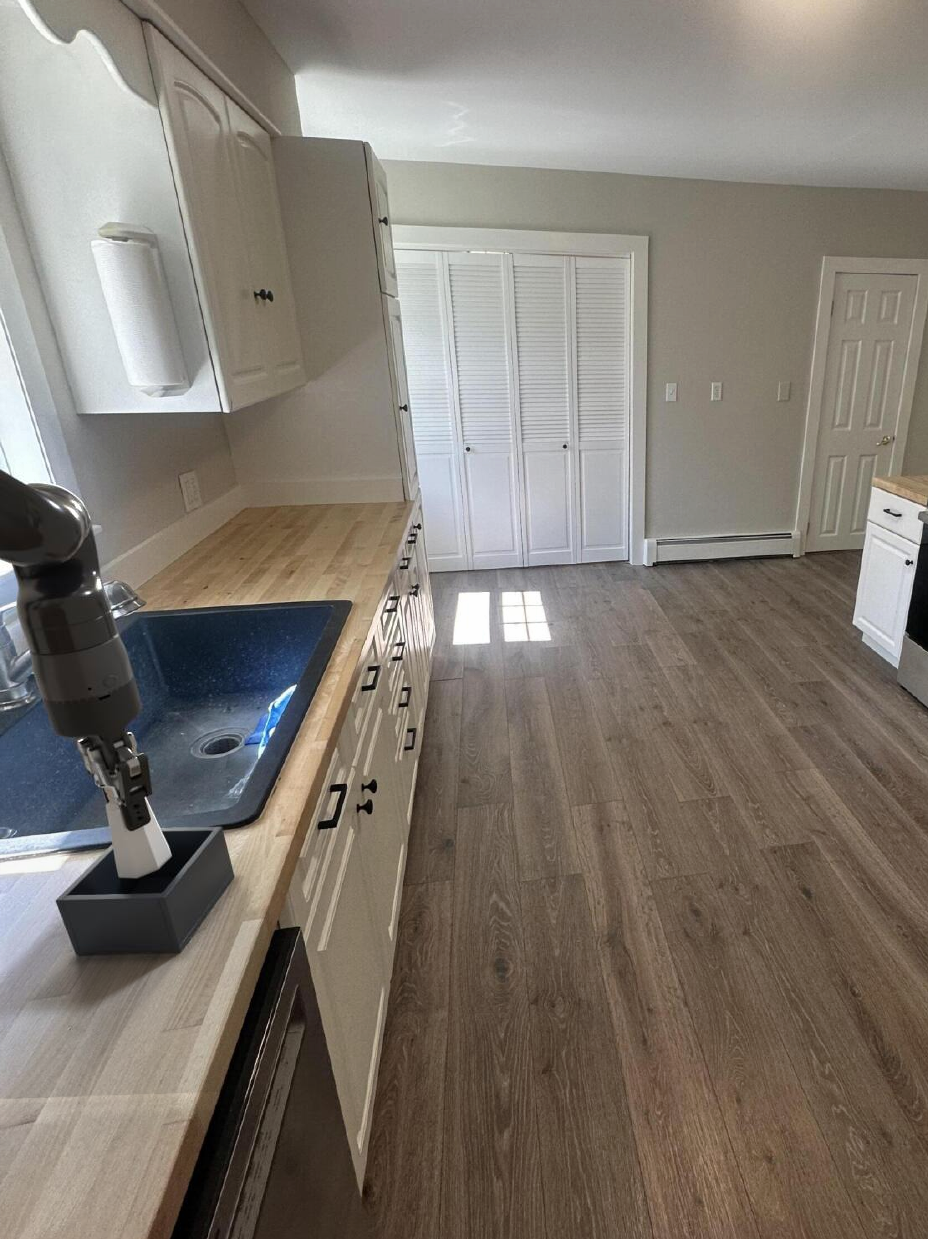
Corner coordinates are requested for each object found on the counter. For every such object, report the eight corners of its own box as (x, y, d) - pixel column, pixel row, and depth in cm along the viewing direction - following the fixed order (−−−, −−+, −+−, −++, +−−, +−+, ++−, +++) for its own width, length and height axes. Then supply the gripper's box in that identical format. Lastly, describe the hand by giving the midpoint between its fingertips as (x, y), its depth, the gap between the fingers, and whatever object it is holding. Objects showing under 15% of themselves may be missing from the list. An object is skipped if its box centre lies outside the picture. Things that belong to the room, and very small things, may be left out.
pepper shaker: (125, 852, 77) (99, 772, 73) (178, 841, 79) (155, 763, 75) (107, 885, 72) (79, 801, 68) (165, 873, 74) (140, 790, 70)
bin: (75, 955, 73) (54, 900, 70) (143, 878, 83) (127, 828, 81) (181, 952, 73) (164, 897, 70) (235, 876, 84) (222, 826, 81)
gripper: (17, 676, 68) (65, 813, 74) (69, 716, 61) (117, 864, 67) (103, 651, 74) (141, 780, 80) (159, 684, 67) (197, 824, 72)
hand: (130, 818), depth 73 cm, fingers closed on pepper shaker, 4 cm apart
